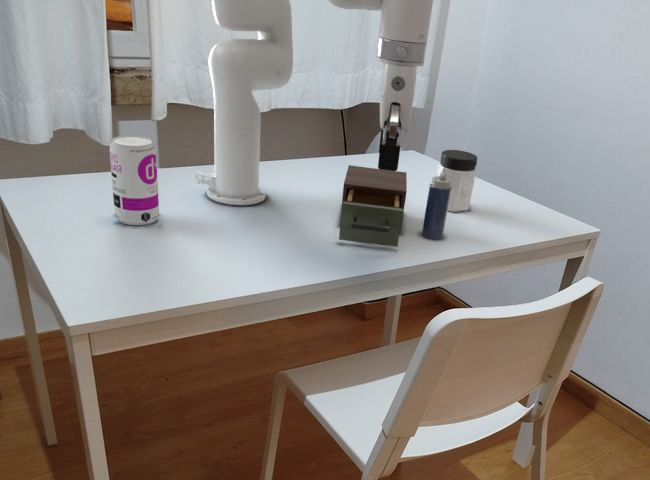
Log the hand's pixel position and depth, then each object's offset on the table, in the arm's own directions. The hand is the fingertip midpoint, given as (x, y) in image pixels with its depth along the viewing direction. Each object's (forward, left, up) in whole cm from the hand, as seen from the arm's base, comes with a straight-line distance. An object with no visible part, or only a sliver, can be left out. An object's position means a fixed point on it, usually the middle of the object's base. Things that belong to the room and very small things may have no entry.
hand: (387, 161), depth 114 cm
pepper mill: (+11, +19, -19) cm, 29 cm away
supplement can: (-47, +8, -19) cm, 51 cm away
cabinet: (-2, +24, -19) cm, 31 cm away
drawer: (-2, +12, -18) cm, 22 cm away
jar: (+16, +40, -19) cm, 47 cm away
